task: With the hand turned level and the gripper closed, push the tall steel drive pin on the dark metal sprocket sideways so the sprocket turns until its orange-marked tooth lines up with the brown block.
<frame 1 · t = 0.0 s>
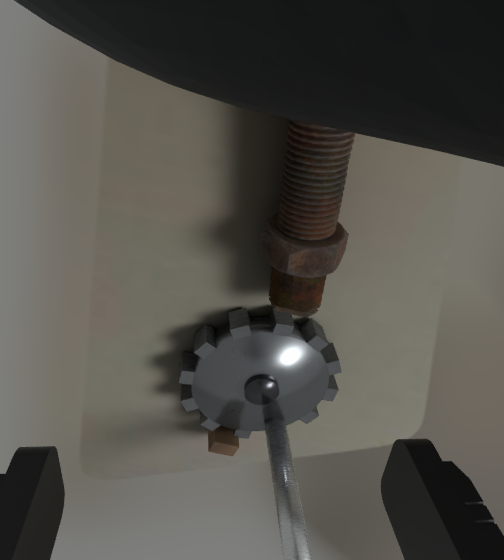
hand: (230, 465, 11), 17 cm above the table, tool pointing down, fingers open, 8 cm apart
bolt: (300, 174, 26), on the table
sprocket: (271, 457, 27), point 8 cm above the table, hinge at 20.0°
brown block: (222, 422, 36), on the table
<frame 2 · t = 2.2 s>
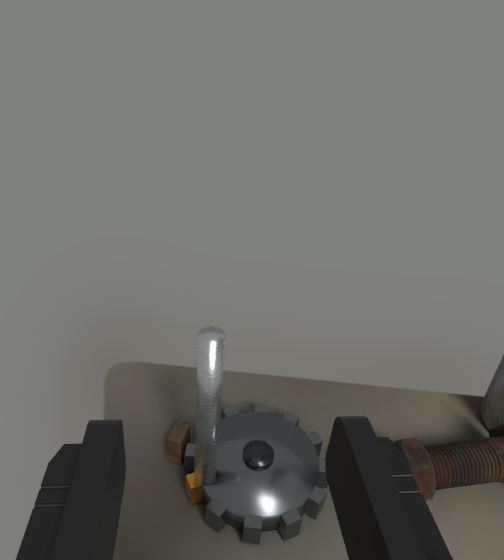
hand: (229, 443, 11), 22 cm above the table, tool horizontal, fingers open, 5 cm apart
bolt: (434, 484, 37), on the table
sprocket: (264, 405, 32), point 8 cm above the table, hinge at 20.0°
brown block: (178, 453, 37), on the table
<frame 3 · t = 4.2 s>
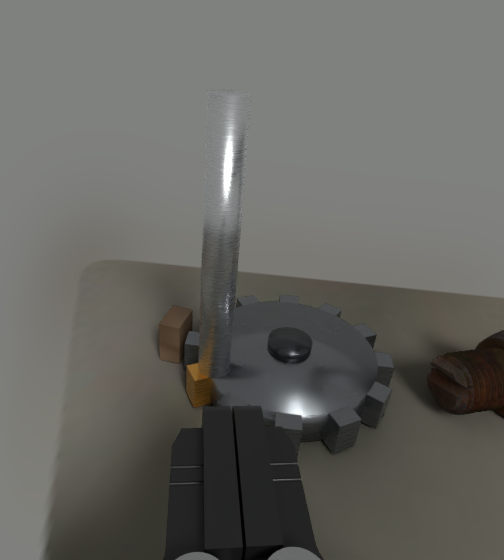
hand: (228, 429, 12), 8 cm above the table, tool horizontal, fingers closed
sprocket: (303, 257, 22), point 8 cm above the table, hinge at 20.0°
brown block: (176, 351, 27), on the table
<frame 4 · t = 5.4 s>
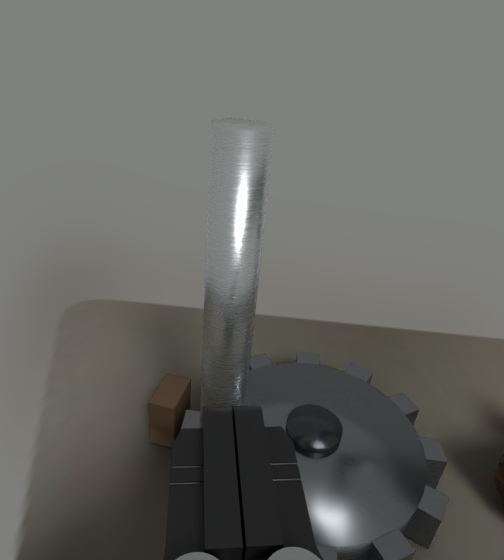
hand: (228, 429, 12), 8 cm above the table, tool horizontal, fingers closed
sprocket: (335, 329, 17), point 8 cm above the table, hinge at 20.0°
brown block: (170, 429, 22), on the table
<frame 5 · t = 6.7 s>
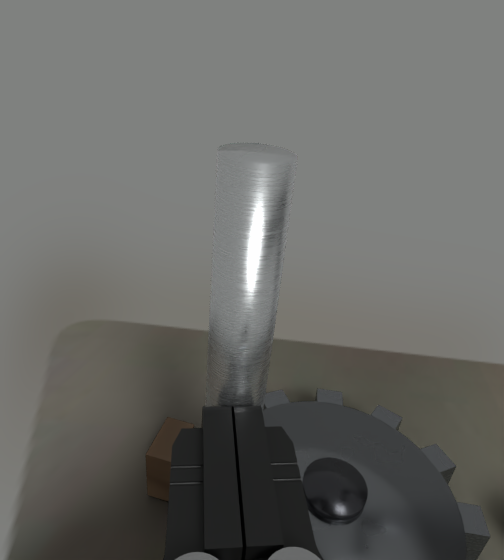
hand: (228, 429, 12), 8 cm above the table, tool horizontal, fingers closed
sprocket: (363, 384, 14), point 8 cm above the table, hinge at 17.6°, touching gripper
brown block: (171, 478, 19), on the table
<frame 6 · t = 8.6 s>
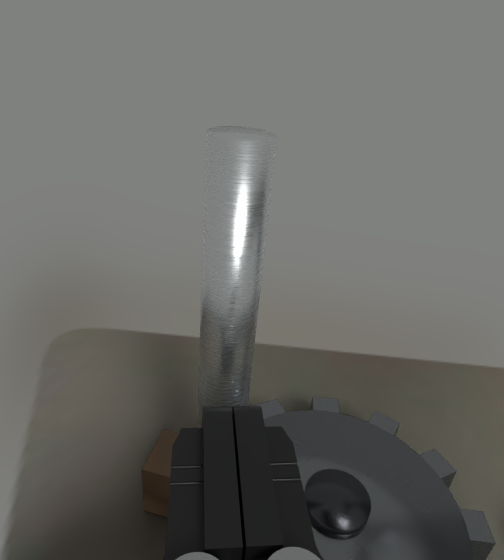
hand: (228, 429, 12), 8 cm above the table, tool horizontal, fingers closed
sprocket: (366, 395, 14), point 8 cm above the table, hinge at -10.4°
brown block: (168, 492, 19), on the table
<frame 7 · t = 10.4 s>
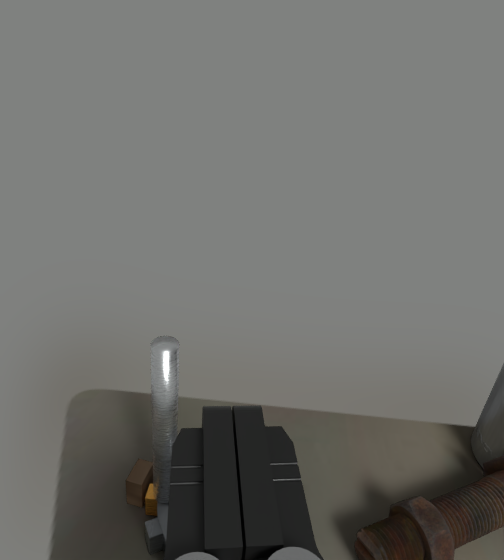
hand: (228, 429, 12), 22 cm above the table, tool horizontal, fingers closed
bolt: (441, 539, 33), on the table
sprocket: (231, 444, 29), point 8 cm above the table, hinge at -10.4°
brown block: (140, 493, 34), on the table
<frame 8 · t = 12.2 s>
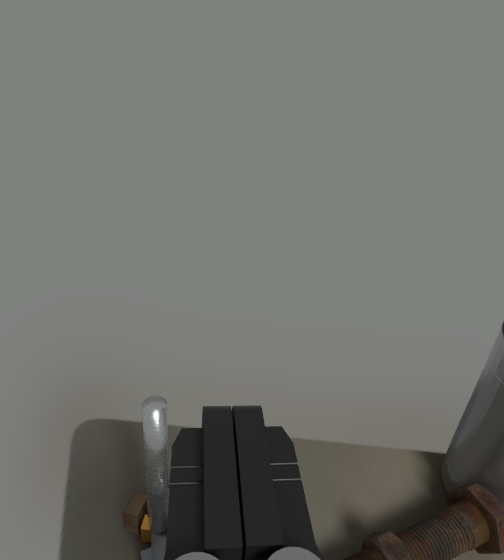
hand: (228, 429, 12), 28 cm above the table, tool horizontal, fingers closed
sprocket: (216, 485, 33), point 8 cm above the table, hinge at -10.4°
brown block: (137, 521, 38), on the table
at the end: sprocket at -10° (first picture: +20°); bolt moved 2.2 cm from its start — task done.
